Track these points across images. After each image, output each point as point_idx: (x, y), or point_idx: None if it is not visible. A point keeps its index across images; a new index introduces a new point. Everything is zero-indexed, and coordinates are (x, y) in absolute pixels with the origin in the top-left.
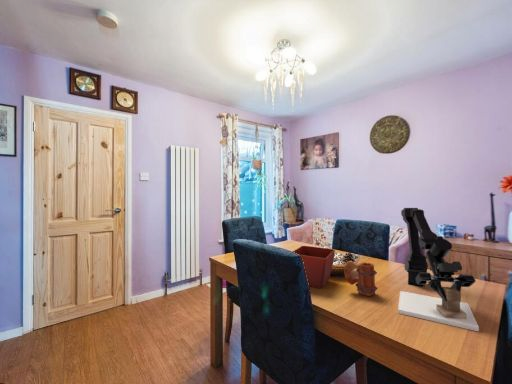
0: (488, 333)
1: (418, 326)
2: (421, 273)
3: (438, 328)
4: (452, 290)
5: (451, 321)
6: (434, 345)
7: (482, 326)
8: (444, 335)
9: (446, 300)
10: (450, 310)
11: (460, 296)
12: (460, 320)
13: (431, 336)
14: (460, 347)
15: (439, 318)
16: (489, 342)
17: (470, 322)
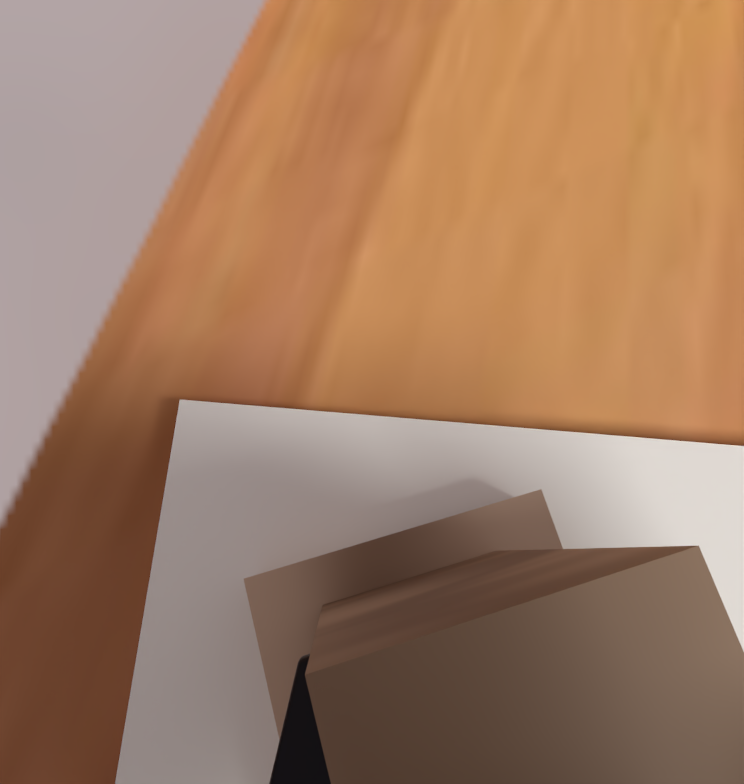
0: (105, 416)
1: (739, 262)
2: None
3: (570, 303)
4: (537, 727)
5: (449, 423)
6: (608, 23)
7: (100, 576)
8: (528, 195)
9: None
10: (460, 564)
11: (273, 775)
12: (342, 494)
13: (629, 136)
14: (432, 66)
15: (574, 432)
16: (172, 233)
17: (235, 491)
